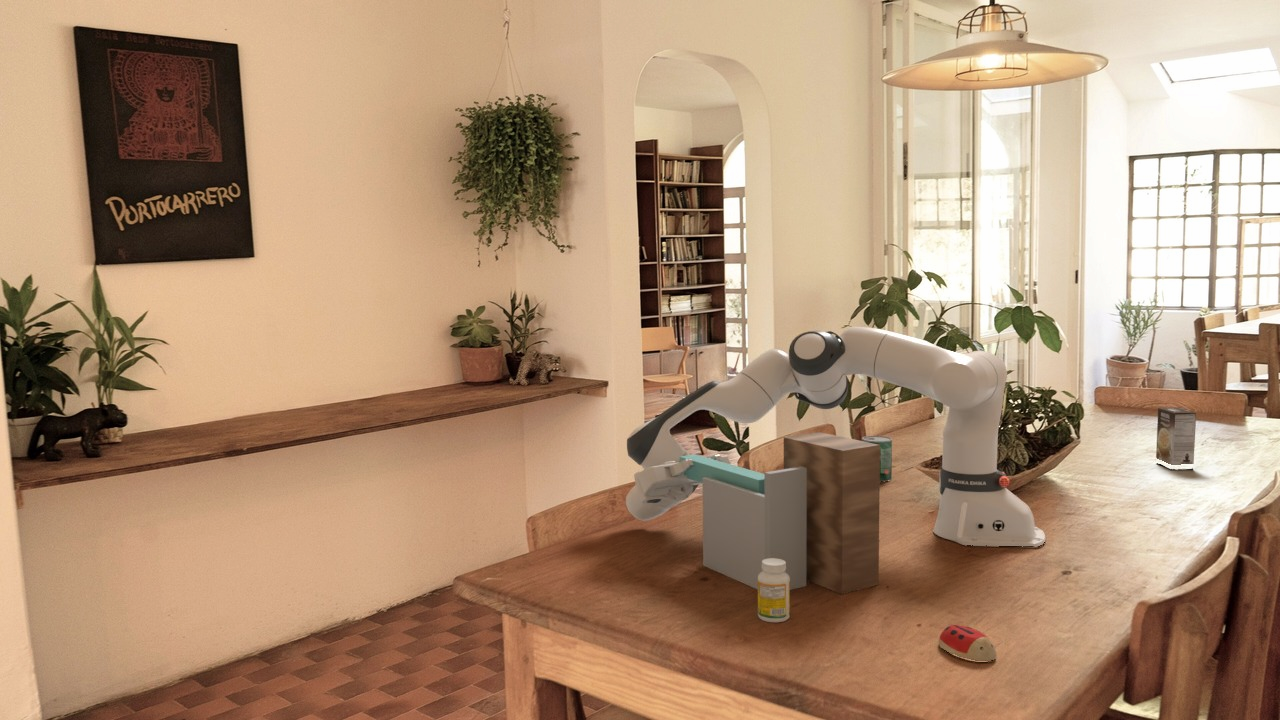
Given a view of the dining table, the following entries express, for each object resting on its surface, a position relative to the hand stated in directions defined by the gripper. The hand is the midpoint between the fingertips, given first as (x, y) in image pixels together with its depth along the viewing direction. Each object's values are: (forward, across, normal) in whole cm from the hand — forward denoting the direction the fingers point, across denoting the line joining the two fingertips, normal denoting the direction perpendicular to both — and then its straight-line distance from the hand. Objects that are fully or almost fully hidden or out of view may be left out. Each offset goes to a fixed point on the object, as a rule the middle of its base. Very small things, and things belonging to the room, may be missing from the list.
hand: (704, 460), depth 199 cm
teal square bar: (+4, 0, -7) cm, 8 cm away
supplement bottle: (+20, +11, -34) cm, 41 cm away
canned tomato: (-35, -77, -3) cm, 85 cm away
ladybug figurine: (+44, -4, -48) cm, 65 cm away
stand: (+12, -11, -29) cm, 33 cm away
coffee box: (-3, -154, -21) cm, 155 cm away
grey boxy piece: (+4, 0, -25) cm, 25 cm away
